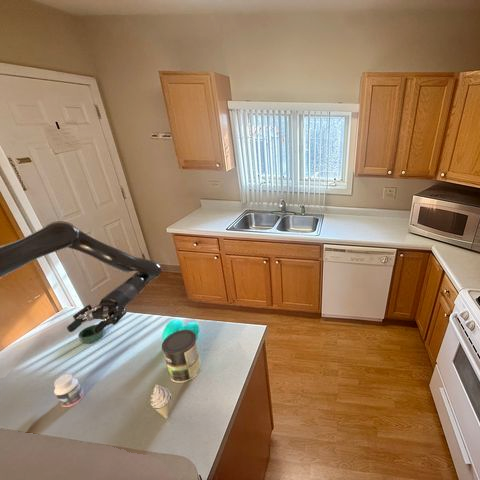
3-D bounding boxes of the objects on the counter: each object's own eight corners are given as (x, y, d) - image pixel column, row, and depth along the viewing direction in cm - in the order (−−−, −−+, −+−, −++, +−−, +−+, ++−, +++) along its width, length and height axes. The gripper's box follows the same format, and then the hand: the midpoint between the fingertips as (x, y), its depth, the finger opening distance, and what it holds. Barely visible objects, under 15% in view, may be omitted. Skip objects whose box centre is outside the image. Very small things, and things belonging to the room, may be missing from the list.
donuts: (187, 354, 97) (182, 335, 93) (163, 350, 98) (158, 330, 94) (202, 335, 106) (198, 316, 102) (180, 332, 107) (176, 313, 103)
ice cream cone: (155, 417, 76) (143, 383, 70) (173, 405, 79) (163, 372, 73) (160, 430, 73) (148, 396, 67) (179, 418, 76) (169, 384, 70)
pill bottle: (56, 405, 78) (45, 385, 74) (75, 389, 82) (65, 370, 79) (70, 409, 77) (59, 390, 73) (88, 393, 81) (79, 374, 78)
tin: (77, 346, 98) (74, 340, 97) (85, 332, 104) (83, 326, 103) (101, 341, 101) (99, 335, 100) (108, 328, 107) (105, 322, 106)
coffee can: (173, 389, 84) (165, 358, 78) (166, 367, 91) (158, 338, 86) (205, 372, 90) (200, 342, 85) (197, 353, 97) (191, 325, 92)
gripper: (98, 288, 94) (55, 321, 80) (135, 290, 93) (98, 324, 79) (105, 304, 97) (65, 337, 83) (141, 306, 97) (107, 340, 82)
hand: (81, 331), depth 81 cm, fingers open, 8 cm apart
